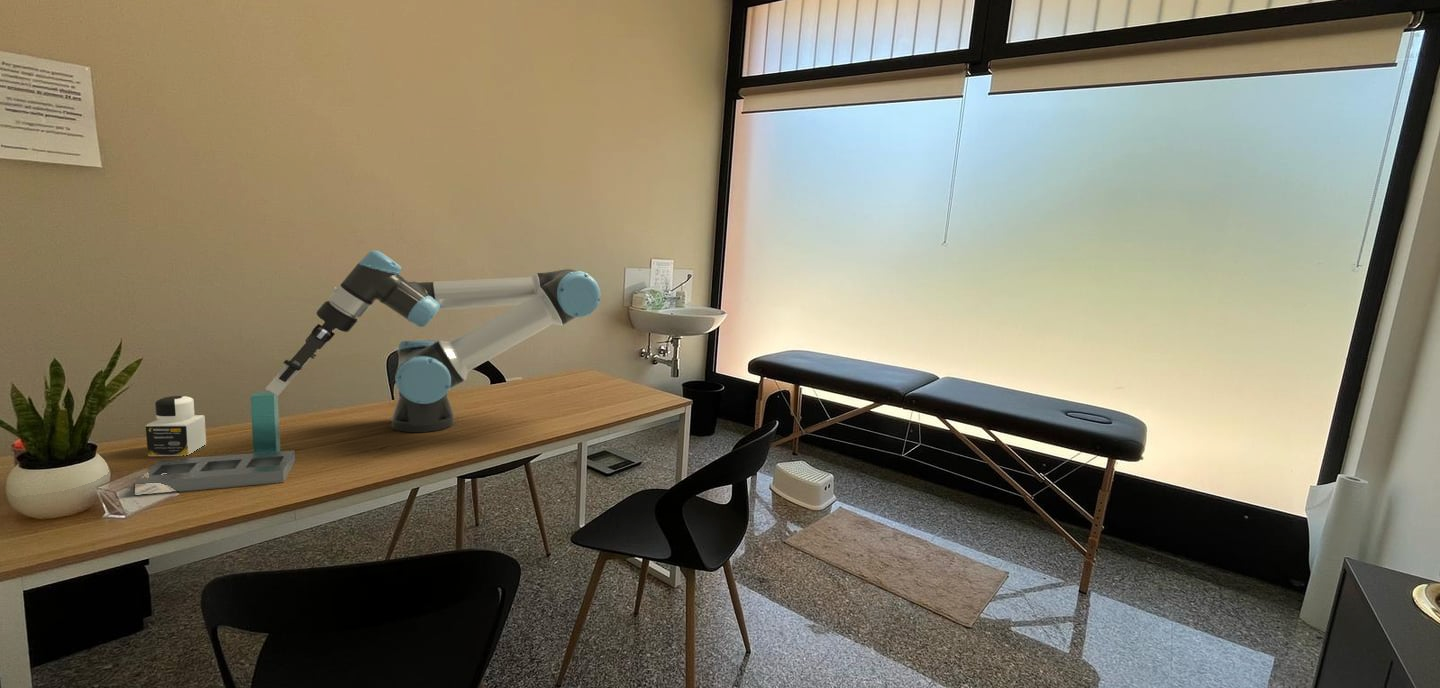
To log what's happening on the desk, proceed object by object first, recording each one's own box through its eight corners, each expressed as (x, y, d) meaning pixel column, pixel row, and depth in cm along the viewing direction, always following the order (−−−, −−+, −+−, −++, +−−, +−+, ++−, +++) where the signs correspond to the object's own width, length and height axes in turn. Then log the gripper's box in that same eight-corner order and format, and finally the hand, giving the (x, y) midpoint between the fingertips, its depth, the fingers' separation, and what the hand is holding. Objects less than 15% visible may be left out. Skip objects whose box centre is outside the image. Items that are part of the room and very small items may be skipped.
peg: (280, 450, 131) (277, 390, 129) (276, 456, 128) (273, 395, 125) (258, 452, 129) (255, 391, 127) (253, 458, 126) (250, 396, 124)
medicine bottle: (147, 457, 122) (142, 402, 121) (168, 445, 129) (164, 393, 127) (188, 456, 124) (184, 402, 123) (207, 445, 131) (203, 393, 129)
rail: (295, 461, 126) (294, 450, 126) (283, 482, 115) (283, 470, 115) (160, 471, 116) (159, 460, 115) (134, 495, 105) (133, 483, 105)
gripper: (334, 294, 142) (274, 363, 139) (318, 305, 120) (246, 388, 117) (363, 312, 145) (305, 380, 142) (353, 327, 123) (284, 408, 120)
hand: (278, 384), depth 129 cm, fingers open, 13 cm apart
